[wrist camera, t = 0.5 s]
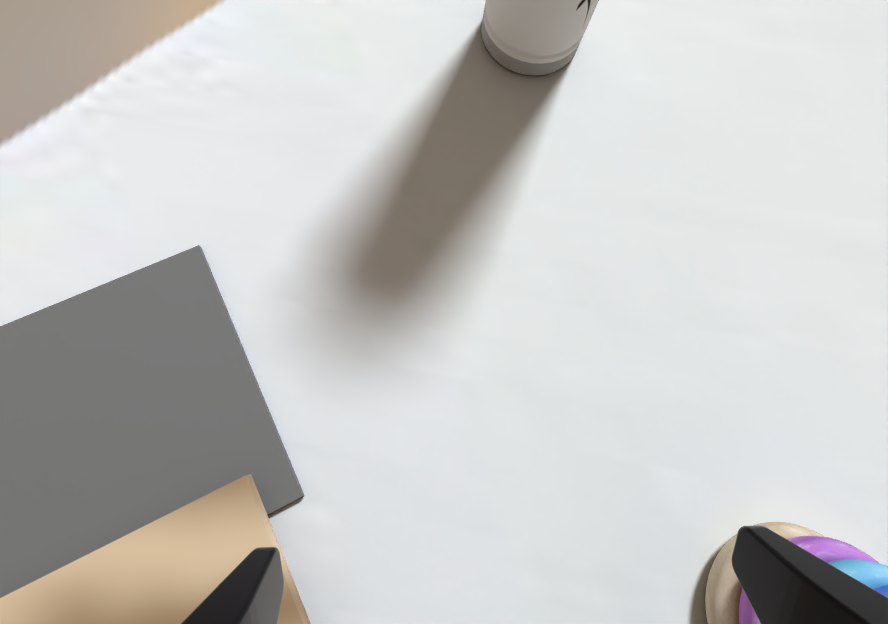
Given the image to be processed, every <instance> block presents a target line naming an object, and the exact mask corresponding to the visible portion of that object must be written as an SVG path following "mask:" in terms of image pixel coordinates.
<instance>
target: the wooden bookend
mask: <svg viewBox="0 0 888 624" xmlns="http://www.w3.org/2000/svg"><path fill="white" fill-rule="evenodd" d="M260 547H276V548H278V550H279V552H280V558H281V565H282V572H283V578H284V588H283V595H282V600H281V605H280V610H279V615H278V620H277V624H310V621H309V619H308V616H307V614H306V611H305V609H304V606H303V604H302V601H301V599H300V596H299V594H298V591H297V589H296V586H295V584H294V581H293V579H292V576H291V573H290V571H289V568H288V566H287V563H286V561H285V558H284V556H283V553H282V551H281V548H280V546H279V543H278V541H277V538H276V536H275V533H274V531H273V528H272V526H271V523H270V521H269V518H268V516H267V513H266V511H265V508H264V506H263V503H262V500H261V498H260V495H259V493H258V490H257V488H256V485H255V483H254V480H253V478H252V475H251V474H249V475H245V476H243V477H241V478H239V479H237V480H235V481H233V482H231V483H229V484H227V485H225V486H223V487H221V488H219V489H217V490H215V491H213V492H211V493H209V494H207V495H205V496H203V497H201V498H199V499H197V500H195V501H193V502H191V503H189V504H187V505H185V506H183V507H181V508H179V509H177V510H175V511H173V512H171V513H169V514H167V515H165V516H163V517H161V518H159V519H157V520H155V521H153V522H151V523H149V524H147V525H145V526H143V527H141V528H139V529H137V530H135V531H133V532H131V533H129V534H127V535H125V536H123V537H121V538H119V539H117V540H115V541H113V542H111V543H109V544H107V545H105V546H103V547H101V548H99V549H97V550H95V551H93V552H91V553H89V554H87V555H85V556H83V557H81V558H79V559H77V560H75V561H73V562H71V563H69V564H67V565H65V566H63V567H61V568H59V569H57V570H55V571H53V572H51V573H49V574H47V575H45V576H43V577H41V578H39V579H37V580H35V581H33V582H31V583H29V584H27V585H25V586H23V587H21V588H19V589H17V590H15V591H14V592H12V593H10V594H8V595H6V596H4V597H2V598H0V624H181V623H182V622H183V621H184V620H185V619H186V618H187V617H188V616H189V615H190V614H191V613H192V612H193V611H194V610H195V609H196V608H197V607H198V606H199V605H200V604H201V603H202V602H203V601H204V600H205V599H206V598H207V597H208V596H209V594H210V593H211V592H212V591H213V590H214V589H215V588H216V587H217V586H218V585H219V584H220V583H221V582H222V581H223V580H224V579H225V578H226V577H227V576H228V575H229V574H230V573H231V572H232V571H233V570H234V569H235V568H236V567H237V566H238V565H239V564H240V563H241V562H242V561H243V560H244V559H245V558H246V557H247V556H248V555H249V554H250V553H251V552H252V551H253V550H254V549H256V548H260Z"/></svg>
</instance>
